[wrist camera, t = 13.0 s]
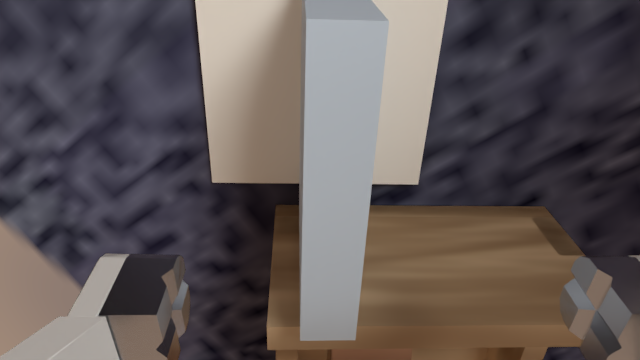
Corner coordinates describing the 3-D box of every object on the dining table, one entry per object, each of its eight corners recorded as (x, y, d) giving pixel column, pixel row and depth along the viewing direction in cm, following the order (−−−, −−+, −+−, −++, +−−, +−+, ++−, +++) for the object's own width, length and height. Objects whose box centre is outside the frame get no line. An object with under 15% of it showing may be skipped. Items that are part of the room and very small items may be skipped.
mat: (195, -22, 18) (193, -21, 18) (447, -14, 19) (450, -12, 18) (213, 178, 23) (212, 182, 22) (416, 180, 23) (418, 184, 23)
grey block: (302, -28, 18) (306, 18, 10) (349, -27, 18) (389, 21, 10) (299, 194, 23) (300, 341, 15) (335, 194, 23) (355, 340, 15)
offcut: (329, 291, 23) (331, 316, 22) (408, 287, 23) (416, 311, 22) (332, 397, 27) (334, 423, 26) (400, 393, 27) (405, 419, 26)
